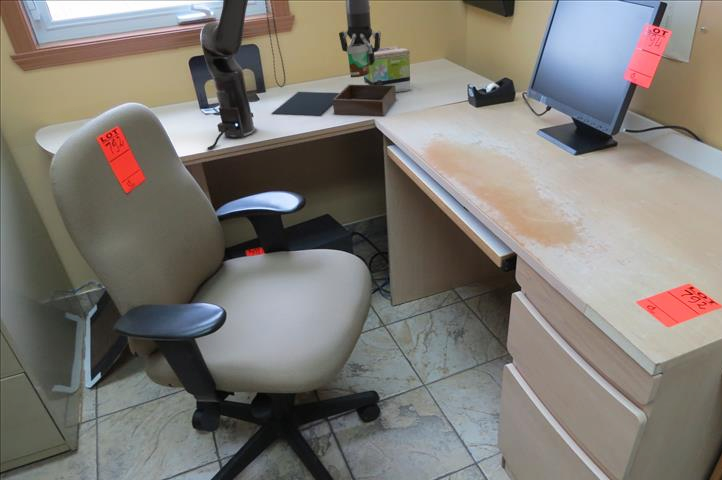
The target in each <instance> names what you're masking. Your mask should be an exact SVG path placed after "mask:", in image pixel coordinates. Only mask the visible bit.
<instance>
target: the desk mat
mask: <svg viewBox="0 0 722 480" xmlns="http://www.w3.org/2000/svg"><path fill="white" fill-rule="evenodd" d="M339 93H340V92H319V91H318V92H317V91H315V92H314V91H297V92H296V93H295V94H294V95H292V96H290V98H289V99H287V100H286V101H285V102H284V103H283V104H281V105H280V106H279V107H278V108H276V109H275V110H274V111H272V112H271V114H272V115H284V116H285V115H289V116H310V117H311V116H312V117H314V116H315V117H321V116H322V115H323V114H324V113H325V112H326V111H327V110H328V109H329V108H330V107H331V106H333V99H334V98H335V97H336V96H337V95H338V94H339Z"/></svg>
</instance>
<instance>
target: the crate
mask: <svg viewBox="0 0 722 480" xmlns="http://www.w3.org/2000/svg"><path fill="white" fill-rule="evenodd" d="M338 93H339V94H338V95H337V96H336V97H335V98H334V99H333V104H332V107H333V115H345V116H347V115H348V116H369V117H371V116H373V117H374V116H375V117H384V116H385V115H386V113H387V112H388V111H389V109H390V108H391V107H392V105H393V104H394V103H395V102H396V100H397V92H396V90H395V86H391V85H364V84H351V83H349V84H347V85H346V86H345V87H344V88H343V89H342V90H341V91H340V92H338Z"/></svg>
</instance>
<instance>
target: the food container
mask: <svg viewBox="0 0 722 480" xmlns="http://www.w3.org/2000/svg"><path fill="white" fill-rule="evenodd" d="M368 43H369V42H368ZM368 50H369V49H368V47H367V46H366V44H355V45H353V46H351V47H349V46H348V47H347V52H346V53H347V57H348V59H347V60H348V66H349V74H350V78H361V77H364V76H365V75H368V74H369V51H368Z"/></svg>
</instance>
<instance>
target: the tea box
mask: <svg viewBox="0 0 722 480" xmlns="http://www.w3.org/2000/svg"><path fill="white" fill-rule="evenodd" d="M410 55H411V53H410V50H409V49H407V48H405V47H403V46H401V45H393V46H385V47H384V46H383V47H380V49H379V50H378V51H377V52H374V58H375V61H374V63H373V65H369V74H368V75H365V76H363V83H364V84H363V85H391V86H395V90H396V93H399V92H408V91H410V90H411V64H410V63H411V61H410V60H411V59H410V57H411V56H410Z"/></svg>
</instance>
